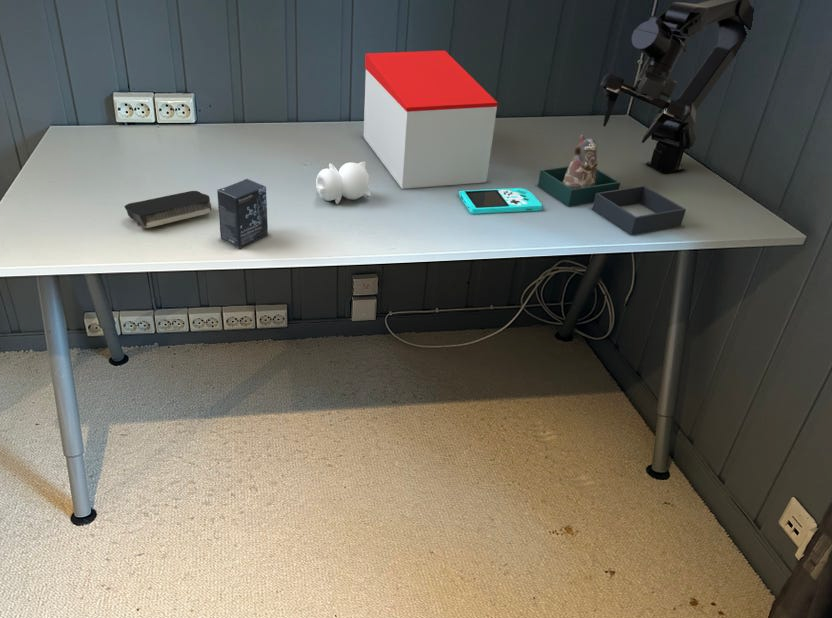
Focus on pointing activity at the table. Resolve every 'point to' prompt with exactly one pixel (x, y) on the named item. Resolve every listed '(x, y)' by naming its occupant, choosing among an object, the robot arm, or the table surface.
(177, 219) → the black sponge
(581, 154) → the ceramic spout vessel
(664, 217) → the grey tote
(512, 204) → the handheld game console
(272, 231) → the table surface
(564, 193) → the teal tote
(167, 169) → the table surface
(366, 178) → the cat figurine
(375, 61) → the storage cube
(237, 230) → the box
